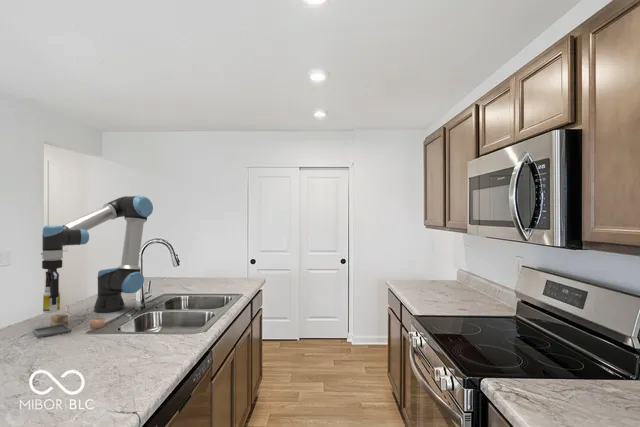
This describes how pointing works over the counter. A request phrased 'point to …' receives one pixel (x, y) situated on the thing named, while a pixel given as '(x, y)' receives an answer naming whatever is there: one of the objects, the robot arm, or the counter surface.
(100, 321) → the brown egg
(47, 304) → the pill bottle
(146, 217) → the robot arm
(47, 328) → the slate tray
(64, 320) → the cork block
